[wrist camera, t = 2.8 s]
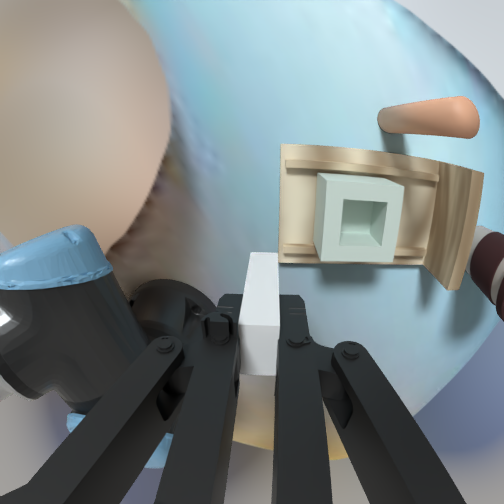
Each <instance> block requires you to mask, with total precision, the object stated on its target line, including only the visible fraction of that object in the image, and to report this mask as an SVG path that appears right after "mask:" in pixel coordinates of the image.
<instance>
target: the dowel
mask: <svg viewBox="0 0 504 504" xmlns="http://www.w3.org/2000/svg"><path fill="white" fill-rule="evenodd" d="M377 120H378V124H379V126H380V128H381V129H382V130H383V131H385V132H387V133H400V134H421V135H436V136H447V137H457V138H466V139H470V138H473V137H474V136H475V135H476V134H477V133H478V130H479V126H480V119H479V114H478V111H477V109H476V107H475V105H474V104H473V103H472V101H471V100H469V99H468V98H466V97H464V96H457V97H448V98H440V99H433V100H426V101H420V102H413V103H408V104H402V105H397V106H391V107H386V108H383V109H382V110H380V112H379V113H378V117H377Z"/></svg>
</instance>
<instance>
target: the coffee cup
mask: <svg viewBox="0 0 504 504" xmlns="http://www.w3.org/2000/svg"><path fill="white" fill-rule="evenodd" d="M465 271H466V272H467V273H468V274H469V275H470V276H471V278H472V280H473V281H474V283H475V284H476V285H477V286H478V287H479V288H480V289H481V291H482V292H483V293H484V294H485V295H486V297H487V298H488V299H489V300H490V301H491V303H492V304H494V305H495V306H496V311H497V314H498V315H499V317H500V318H501V319H502V320H503V321H504V235H503V234H501V233H499V232H494V231H492V230H490V229H488V228H485V227H483V226H476V229H475V233H474V238H473V242H472V246H471V250H470V254H469V258H468V261H467V265H466V269H465Z"/></svg>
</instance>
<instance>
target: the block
mask: <svg viewBox="0 0 504 504" xmlns="http://www.w3.org/2000/svg"><path fill="white" fill-rule="evenodd" d="M403 195H404V186H401V185H399V184H397V183H395V182H392V181H390V180H388V179H385V178H380V177H370V176H359V175H346V174H332V173H317V188H316V207H315V222H314V236H313V242H314V245H315V247H316V250H317V253H318V256H319V258H320V261H347V262H393V258H394V253H395V248H396V242H397V237H398V231H399V224H400V218H401V211H402V203H403Z"/></svg>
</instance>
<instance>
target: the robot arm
mask: <svg viewBox="0 0 504 504" xmlns="http://www.w3.org/2000/svg"><path fill="white" fill-rule="evenodd" d="M112 270H113V267H112V265H111V263H109V262H108V261H107V260H106V258H105V256H104V254H103V252H102V250H101V248H100V246H99V244H98V242H97V240H96V238H95V236H94V234H93V233H92V232H91V231H90V230H89V229H88V228H87V227H85V226H82V225H70V226H67V227H63V228H60V229H58V230H55V231H52V232H49V233H47V234H44V235H41V236H39V237H37V238H34V239H31V240H29V241H27V242H24V243H22V244H20V245H17V246H15V247H13V248H11V249H9V250H7V251H5V252H3V253H1V254H0V402H1V401H2V400H4V399H6V398H7V397H9V396H10V395H12V394H16V395H18V396H20V397H22V398H24V399H26V400H30V401H32V400H35V399H38V398H39V397H41V396H43V395H44V394H46V393H48V392H50V391H52V390H55V391H56V392H57V393H58V394H59V396H60V397H61V398H62V399H63V400H64V401H65V402H66V403H67V404H68V405H69V407H70V408H71V409H72V412H71V413H70V414H68V416H67V418H68V419H67V423H66V424H67V428H68V429H69V431H70V434H69V436H68V437H67V438H66V439H65V440H64V441H63V442H62V444H61V445H60V446H59V447H58V448H57V449H56V450H55V452H54V453H53V454H52V455H51V456H50V457H49V459H48V460H47V461H46V462H45V463H44V465H43V466H42V467H41V468H40V469H39V470H38V472H37V473H36V474H35V475H34V476H33V477H32V479H31V480H30V481H29V482H28V483H27V484H26V485H24V486H22V487H20V488H18V489H16V490H13V491H11V492H9V493H7V494H5V495H3V496H0V504H119V503H120V502H121V501H122V499H123V498H124V496H125V495H126V493H127V492H128V490H129V489H130V487H131V486H132V484H133V483H134V482H135V480H136V479H137V477H138V475H139V474H140V473H141V471H142V470H143V468H144V467H146V468H163V467H164V470H163V473H162V477H161V481H160V484H159V488H158V491H157V495H156V499H155V502H154V504H223V503H224V497H225V490H226V483H227V475H228V468H229V460H230V452H231V446H232V438H233V431H234V423H235V416H236V408H237V400H238V393H239V385H240V381H239V374H247V375H275V376H276V382H275V394H274V396H275V422H274V455H273V458H274V459H273V481H272V502H271V504H333V503H332V489H331V477H330V466H329V455H328V445H327V436H326V427H325V418H324V410H323V402H322V398H323V401H324V403H325V406H326V408H327V410H328V412H329V414H330V417H331V419H332V421H333V423H334V425H335V428H336V430H337V432H338V434H339V436H340V439H341V441H342V443H343V445H344V447H345V450H346V452H347V454H348V456H349V459H350V461H351V463H352V465H353V467H354V470H355V471H356V474H357V476H358V478H359V481H360V483H361V485H362V487H363V489H364V492H365V494H366V496H367V498H368V501H369V503H370V504H466V502H465V501H464V499H463V497H462V495H461V494H460V492H459V491H458V489H457V487H456V485H455V484H454V482H453V480H452V479H451V477H450V475H449V473H448V472H447V470H446V469H445V467H444V465H443V464H442V462H441V460H440V459H439V457H438V456H437V454H436V452H435V451H434V449H433V448H432V446H431V445H430V443H429V441H428V440H427V438H426V437H425V435H424V434H423V432H422V431H421V429H420V427H419V426H418V424H417V423H416V421H415V420H414V418H413V417H412V415H411V414H410V412H409V411H408V409H407V408H406V406H405V405H404V403H403V402H402V400H401V399H400V397H399V396H398V394H397V393H396V391H395V390H394V388H393V387H392V386H391V384H390V383H389V381H388V380H387V378H386V377H385V375H384V374H383V373H382V371H381V370H380V368H379V367H378V365H377V364H376V362H375V361H374V360H373V358H372V357H371V355H370V354H369V353H368V351H367V350H366V349H365V348H364V347H363V346H362V345H361V344H359V343H357V342H352V341H344V342H341V343H338V344H337V345H336V346H335V347H334V349H333V348H329V347H324V346H321V345H319V344H317V343H316V342H314V341H313V339H312V337H311V336H310V334H309V328H308V322H307V316H306V309H305V303H304V300H303V299H302V298H301V297H300V296H299V295H279V277H278V253H262V252H251V255H250V260H249V266H248V272H247V277H246V283H245V288H244V294H225V295H223V296H222V297H221V298H220V299H219V302H218V305H217V308H216V307H215V305H214V304H213V303H212V302H211V301H210V299H209V298H207V297H206V296H205V295H204V294H203V293H201V292H200V291H199V290H197V289H195V288H194V287H192V286H190V285H188V284H185V283H182V282H179V281H175V280H168V279H159V280H153V281H149V282H147V283H145V284H143V285H141V286H140V287H139V288H138V289H137V290H136V291H135V292H134V293H133V295H132V296H131V297H130V298H129V300H128V301H127V299H126V297H125V295H124V293H123V291H122V289H121V287H120V286H119V284H118V282H117V280H116V278H115V276H114V274H113V271H112Z"/></svg>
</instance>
